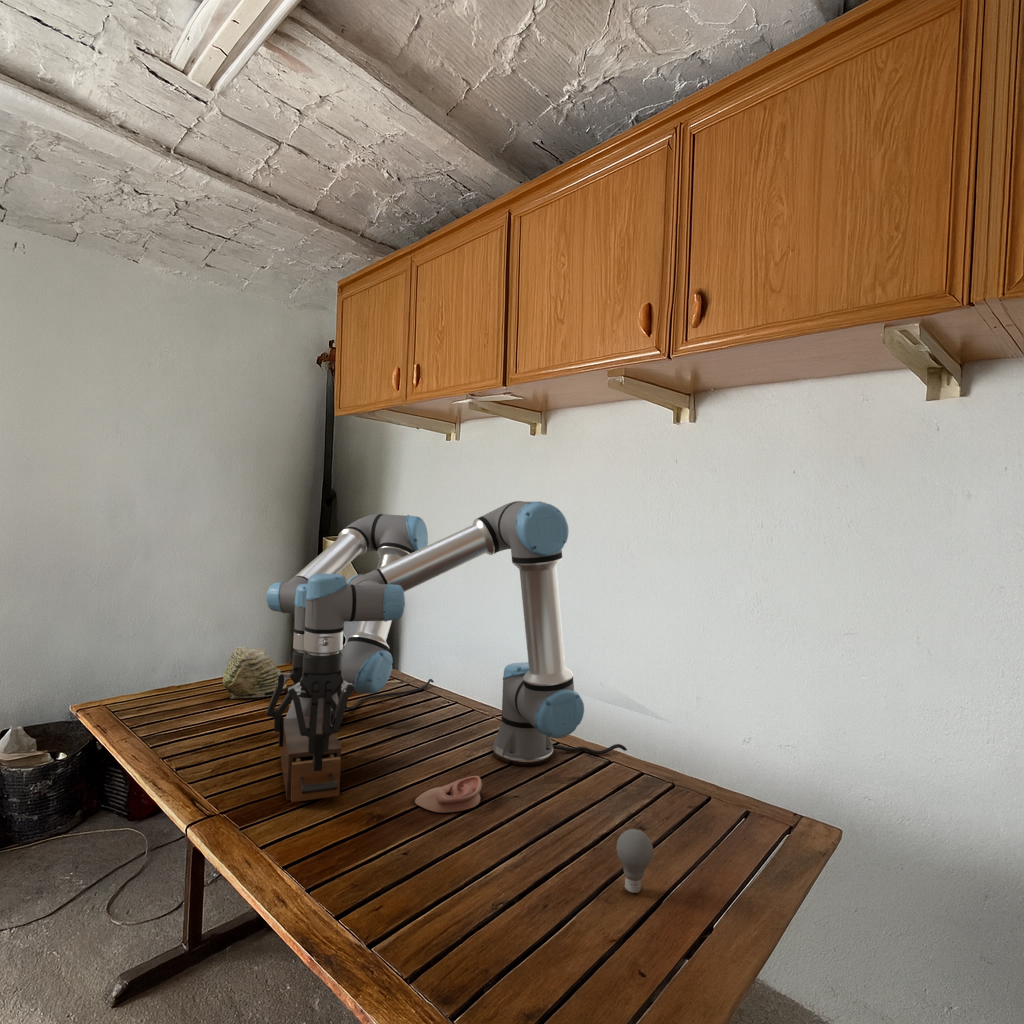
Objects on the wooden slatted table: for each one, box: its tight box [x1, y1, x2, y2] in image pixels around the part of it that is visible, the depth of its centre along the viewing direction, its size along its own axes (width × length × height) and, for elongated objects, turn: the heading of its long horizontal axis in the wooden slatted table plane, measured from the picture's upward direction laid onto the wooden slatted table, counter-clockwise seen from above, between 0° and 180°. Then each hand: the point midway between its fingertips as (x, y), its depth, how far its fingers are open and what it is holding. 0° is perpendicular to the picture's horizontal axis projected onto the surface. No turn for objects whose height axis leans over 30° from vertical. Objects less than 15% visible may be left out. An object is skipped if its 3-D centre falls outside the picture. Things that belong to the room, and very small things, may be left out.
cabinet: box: [280, 715, 342, 801], centre depth 143 cm, size 22×11×10 cm, turn 23°
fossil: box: [222, 646, 288, 699], centre depth 198 cm, size 9×18×15 cm, turn 132°
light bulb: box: [615, 828, 654, 894], centre depth 106 cm, size 6×6×10 cm
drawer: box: [290, 754, 342, 803], centre depth 137 cm, size 26×10×8 cm, turn 23°
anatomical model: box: [414, 775, 483, 814], centre depth 134 cm, size 13×4×12 cm
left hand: (306, 742), depth 150 cm, fingers closed on cabinet, 11 cm apart
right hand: (317, 768), depth 127 cm, fingers closed
